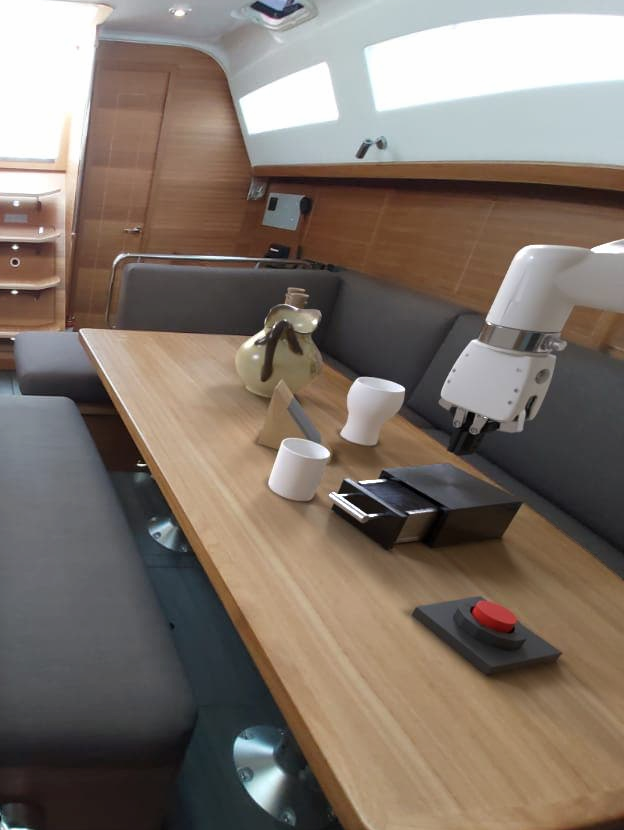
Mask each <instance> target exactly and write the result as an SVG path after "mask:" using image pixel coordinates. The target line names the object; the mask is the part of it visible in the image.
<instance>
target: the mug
mask: <svg viewBox="0 0 624 830" xmlns="http://www.w3.org/2000/svg"><path fill="white" fill-rule="evenodd" d="M329 457H330V452H329V451H328V450H327V449H326V448H325V447H323V446H321V445H319V444H317V443H314V442H312V441H308V440H304V439H298V438H288V439H284V440H283V441H282V443H281V446H280V449H279V450H278V452H277V454H276V458H275V460H274V464H273V467H272V470H271V472H270V476H269V478H268V487H269V489H270V490H271V491H272V492H274V493H275V494H277V495H278V496H280V497H283V498H285V499H288V500H292V501H296V502H308V501H311V500H312V499H313V498H314V496H315V495H316V492H317V489H318V488H319V485H320V482H321V479H322V477H323V475H324V472H325V469H326V467H327V465H328V464H327V462H328V459H329Z"/></svg>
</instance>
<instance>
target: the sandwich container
mask: <svg viewBox="0 0 624 830" xmlns="http://www.w3.org/2000/svg"><path fill="white" fill-rule="evenodd" d="M288 438H298V439H304V440H308V441H312V442H314V443H317V444H319V445H321V446H323V447H325V448H326V449H327V450H328V451H329V452H330V457H329V459H328V462H327V464H326V465H330V463H331V460H332V458H333V450H332V448H331V447H330V446H329V444H328V442H326V439H324V437H323V436H322V434H321V433H320V432H319V431H318V429H317V427H316V426H315V424H313V422H312V420H311V419H310V417H309V416H308V414H307V413H306V411H305V410H304V409H303V407H302V406H301V404H300V403H299V401H298V400H297V399H296V397H295V396H294V394H292V393H291V391H290V390H289V388H288V387H287V385H286V384H285V382H284V381H283V379H281V381H280V382H279V384H278V385H277V387H276V388H275V390H274V393H273V396H272V398H270V402H269V406H268V409H267V413H266V416H265V418H264V423H263V425H262V428H261V432H260V435H259V438H258V442H257V444H258V445H262V446H265V447H268V448H272V449H274V450H277V451H279V449H280V446H281V443H282V441H283V440H284V439H288Z"/></svg>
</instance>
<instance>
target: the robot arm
mask: <svg viewBox="0 0 624 830" xmlns="http://www.w3.org/2000/svg"><path fill="white" fill-rule="evenodd" d="M575 306H579V307H586V308H591V309H595V310H600V311H606V312H611V313H617V314H623V315H624V238H622V239H618V240H614V241H611V242H607V243H604V244H601V245H598V246H595V247H593V248H585V247H581V246H571V245H560V244H558V245H557V244H531V245H527V246H524V247H522V248H521V249H520V250H519V251H517V252H516V253H515V255H514V257H513V259H512V260H511V263H510V264H509V267H508V270H507V272H506V274H505V276H504V279H503V280H502V283H501V284H500V286H499V289H498V291H497V293H496V296H495V298H494V301H493V303H492V305H491V307H490V309H489V311H488V313H487V316H486V318H485V321H484V322H483V324H482V326H481V328H480V330H479V333H478V335H477V338H476V339H471V340H470V342H468V344H467V345H466V346H465V348H464V349H463V351H462V352H461V353H460V355H459V357H458V358H457V359H456V361H455V363H454V364H453V366H452V368H451V369H450V372H449V373H448V375H447V377H446V379H445V381H444V383H443V386H442V389H441V392H440V397H441V398H440V399H439V400H438V404H439V406H441V407H442V408H443V409H445V410H447V411H448V412H449V413H450V415H451V417H452V419H453V421H452V425H453V427H455V428H454V431H453V433H452V434H451V436H450V437H449V441H448V443H449V444H448V447H447V449H446V452H449V453H451V454H453V455H455V456H457V457H461V456H463V457H464V456H471V455H473V454H475V453H476V452H477V451H478V450H479V448H480V446H481V444H482V442H483V440H484V438H485V436H486V434H491V433H493V432H496V431H499V432H503V433H509V434H517V433H522V432H523V430H524V425H525V422H529V421H532V420H533V419H534V418H536V415H537V414H538V413H539V411H540V409H541V406H542V404H543V402H544V399H545V397H546V394H547V392H548V390H549V387H550V384H551V382H552V378H553V374H554V372H555V371H554V370H555V367H556V362H557V361H556V360H557V356H556V355H554V354H551V352H553V351H554V350H555V351H559V352H561V351H564V350H565V349H566V347H567V346H568V341H567V340H562V339H561V338H560V337H561V335H562V332H561V331H562V330H563V329H564V326H565V324H566V322H567V321H568V318H569V317H570V315H571V313H572V311H573V309H574V307H575Z"/></svg>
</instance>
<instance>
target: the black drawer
mask: <svg viewBox="0 0 624 830" xmlns="http://www.w3.org/2000/svg"><path fill="white" fill-rule="evenodd" d="M327 500H329V501H330V502H332V503H333V504H332V507H331V508H330V510H331V511H333V512H334V513H335V514H337V515H338V516H339V517H341V518H342V519H344V520H345V521H346V522H348V523H349V524H350V525H352V527H354V528H356V529H357V530H358V531H360V532H361V533H363V534H364V535H366V536H367V537H368V538H369V539H371V540H372V541H374V542H375V543H376V544H378V545H379V546H380V547H381V548H383V549H385V550H387V551H388V550H392V549H393V548H394V546H395V545H396V544H401V543H408V542H409V543H410V542H417V541H420V540H424V539H430V537H431V535H432V533H433V531H434V530H435V528H436V526H437V524H438V522H439V520H440V518H441V516H442V515H443V513H444V510H443V509H441V508H439V507H438V506H436V505H434V504H432V503H431V502H429V501H427V500H426V499H424V498H422V497H421V496H419V495H417V494H415V493H414V492H412V491H410V490H409V489H407V488H405V487H404V486H402V485H400V484H398V483H397V482H395V481H393V480H392V479H390V478H389V479H379V480H378V479H370V480H361V481H360V480H359V481H358V482H357V483H356V482H355V481H354V480H352V479H350V478H344V479H343V480H342V482H341V484H340V487H339V489H338V492H334V491H333V492H332V491H331V492H330V493H329V494H328V495H327Z"/></svg>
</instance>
